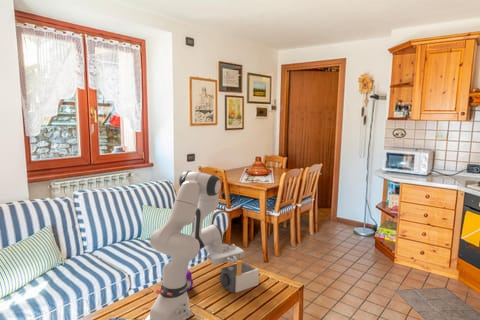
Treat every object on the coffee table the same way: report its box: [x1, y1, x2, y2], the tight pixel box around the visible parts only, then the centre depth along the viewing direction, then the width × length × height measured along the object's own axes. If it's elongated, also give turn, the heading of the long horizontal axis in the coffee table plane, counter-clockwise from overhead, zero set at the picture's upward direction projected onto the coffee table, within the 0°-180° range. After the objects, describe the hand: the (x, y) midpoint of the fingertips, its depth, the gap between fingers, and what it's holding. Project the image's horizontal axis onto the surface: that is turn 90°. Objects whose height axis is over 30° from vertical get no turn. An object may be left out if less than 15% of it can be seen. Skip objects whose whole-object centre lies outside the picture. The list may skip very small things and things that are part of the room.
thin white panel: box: [234, 260, 260, 294], centre depth 176 cm, size 2×16×17 cm, turn 125°
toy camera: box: [186, 268, 194, 292], centre depth 175 cm, size 11×14×10 cm
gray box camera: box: [219, 261, 256, 293], centre depth 180 cm, size 11×18×10 cm, turn 125°
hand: (235, 261), depth 175 cm, fingers closed
